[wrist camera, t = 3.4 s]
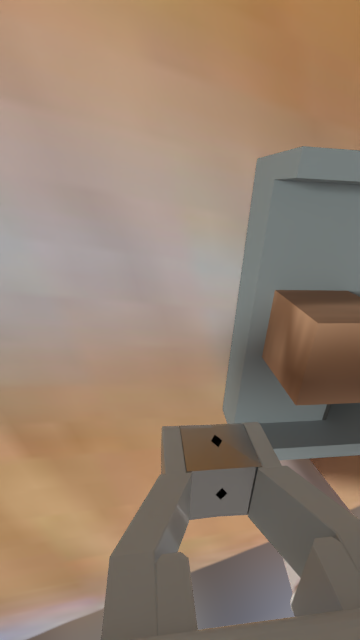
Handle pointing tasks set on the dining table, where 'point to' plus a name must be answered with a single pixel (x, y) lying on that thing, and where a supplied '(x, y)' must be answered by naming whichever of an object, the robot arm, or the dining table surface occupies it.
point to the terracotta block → (315, 345)
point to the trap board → (295, 274)
